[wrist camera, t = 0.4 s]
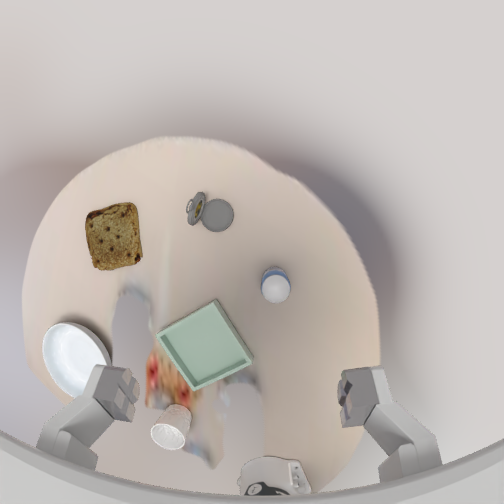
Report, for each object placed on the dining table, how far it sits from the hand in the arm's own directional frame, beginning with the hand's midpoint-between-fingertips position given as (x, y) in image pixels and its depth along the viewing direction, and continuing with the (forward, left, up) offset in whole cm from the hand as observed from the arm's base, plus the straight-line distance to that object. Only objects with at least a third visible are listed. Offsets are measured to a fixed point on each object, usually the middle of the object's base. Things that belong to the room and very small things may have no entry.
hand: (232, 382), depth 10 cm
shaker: (-4, 0, -51) cm, 51 cm away
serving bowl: (+2, +51, -51) cm, 72 cm away
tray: (-9, +20, -51) cm, 55 cm away
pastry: (+22, +26, -51) cm, 61 cm away
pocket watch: (+14, +4, -51) cm, 53 cm away
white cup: (-22, +37, -51) cm, 67 cm away
